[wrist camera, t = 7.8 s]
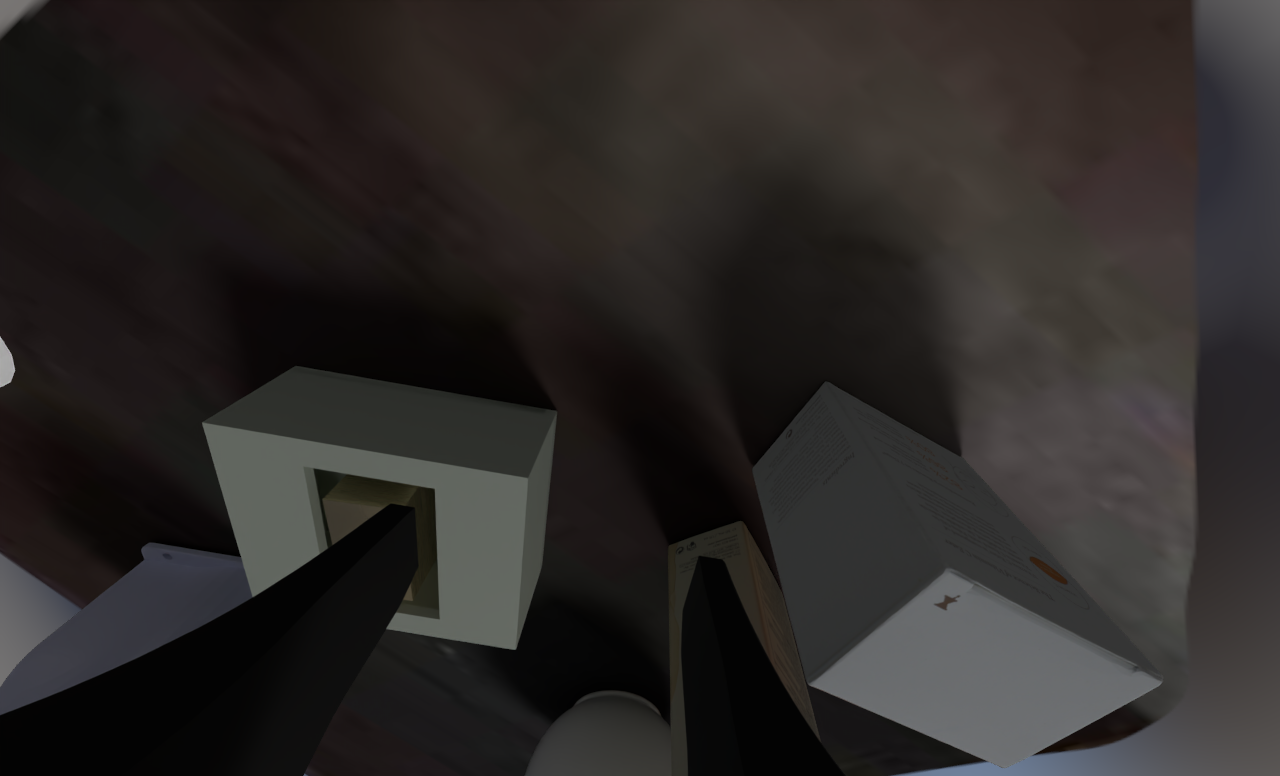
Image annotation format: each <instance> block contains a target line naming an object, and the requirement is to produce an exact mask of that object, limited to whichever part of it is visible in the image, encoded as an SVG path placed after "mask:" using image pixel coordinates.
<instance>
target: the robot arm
mask: <svg viewBox="0 0 1280 776" xmlns="http://www.w3.org/2000/svg"><path fill="white" fill-rule="evenodd" d="M141 551H142V554H143V557H144V559H145V560H144V561H142V562H141V563H140V564H139V565H137V566H136V567H135V568H134V569H132V570H131V571H130V572H129V573H127V574H126V575H125V576H124V577H122V578H121V579H120V580H119V581H117V582H116V583H115V584H114V585H112V586H111V587H110V588H109V589H107V590H106V591H105V592H104V593H102V594H101V595H100V596H99V597H97V598H96V599H95V600H94V601H92V602H91V603H90V604H89V605H87V606H86V607H85V608H84V609H82V610H81V611H80V612H78V613H77V614H76V615H75V616H74V617H72V618H71V619H70V620H69V621H67V622H66V623H65V624H63V625H62V626H61V627H60V628H59V629H57V630H56V631H55V632H54V633H52V634H51V635H50V636H48V637H47V638H46V639H45V640H43V641H42V642H41V643H40V644H38V645H37V646H36V647H35V648H34V649H33V650H32V651H31V652H30V653H28V654H27V655H26V656H25V657H24V659H22V661H20V662H19V664H18V665H17V666H16V667H15V669H13V671H12V672H11V673H10V674H9V676H8V677H7V678H6V680H5V681H4V683H3V684H2V686H1V687H0V776H303V775H304V773H305V771H306V769H307V767H308V765H309V763H310V761H311V759H312V757H313V755H314V753H315V751H316V749H317V747H318V745H319V743H320V741H321V739H322V737H323V735H324V733H325V731H326V729H327V727H328V725H329V723H330V721H331V719H332V717H333V715H334V714H335V712H336V710H337V708H338V707H339V705H340V703H341V701H342V700H343V698H344V696H345V694H346V693H347V691H348V690H349V688H350V686H351V685H352V683H353V682H354V680H355V678H356V677H357V675H358V673H359V672H360V670H361V669H362V667H363V665H364V664H365V662H366V661H367V659H368V657H369V656H370V654H371V653H372V651H373V649H374V648H375V646H376V644H377V643H378V641H379V640H380V638H381V636H382V635H383V633H384V631H385V630H386V628H387V627H388V625H389V623H390V622H391V620H392V618H393V617H394V615H395V613H396V612H397V610H398V608H399V607H400V605H401V603H402V601H403V599H404V597H405V595H406V592H407V590H408V588H409V586H410V584H411V582H412V580H413V577H414V575H415V573H416V571H417V568H418V566H419V565H418V549H417V533H416V517H415V507H409V506H403V505H397V504H389V505H388V506H386V507H385V508H383V509H382V510H380V511H379V512H378V513H376V514H375V515H373V516H372V517H371V518H369V519H368V520H367V521H365V522H364V523H362V524H361V525H360V526H358V527H357V528H356V529H354V530H353V531H351V532H350V533H349V534H347V535H346V536H344V537H343V538H342V539H340V540H339V541H337V542H336V543H335V544H333V545H332V546H330V547H329V548H327V549H326V550H324V551H323V552H322V553H320V554H319V555H317V556H316V557H314V558H313V559H311V560H310V561H309V562H307V563H306V564H304V565H303V566H301V567H300V568H298V569H297V570H295V571H293V572H292V573H290V574H289V575H287V576H286V577H284V578H283V579H281V580H279V581H278V582H276V583H275V584H273V585H272V586H270V587H268V588H267V589H265V590H264V591H262V592H260V593H259V594H257V595H256V596H254V597H253V596H252V593H251V590H250V586H249V583H248V579H247V576H246V572H245V569H244V565H243V562H242V558H241V557H237V556H231V555H225V554H219V553H213V552H207V551H201V550H195V549H189V548H183V547H177V546H170V545H164V544H158V543H148V544H146V545H145V546H144V547H142V549H141ZM681 664H682V680H683V695H684V710H685V725H686V740H687V761H688V776H845V774H844V773H843V772H842V770H841V769H840V768H839V766H838V765H837V764H836V762H835V761H834V760H833V758H832V757H831V756H830V754H829V753H828V752H827V750H826V749H825V748H824V746H823V745H822V743H821V742H820V740H819V739H818V737H817V736H816V734H815V733H814V731H813V730H812V729H811V727H810V726H809V724H808V723H807V721H806V720H805V718H804V716H803V715H802V713H801V712H800V710H799V709H798V707H797V706H796V704H795V702H794V701H793V699H792V698H791V696H790V694H789V693H788V691H787V689H786V688H785V686H784V684H783V682H782V681H781V679H780V677H779V675H778V674H777V672H776V670H775V668H774V666H773V665H772V663H771V661H770V659H769V657H768V656H767V654H766V652H765V650H764V648H763V646H762V644H761V642H760V640H759V638H758V636H757V634H756V632H755V630H754V628H753V626H752V624H751V622H750V620H749V618H748V615H747V613H746V611H745V609H744V607H743V604H742V602H741V600H740V598H739V595H738V593H737V591H736V588H735V586H734V584H733V581H732V579H731V576H730V574H729V571H728V568H727V566H726V563H725V562H724V561H723V559H717V558H711V557H705V556H699V557H698V560H697V563H696V567H695V570H694V573H693V577H692V580H691V583H690V587H689V590H688V593H687V597H686V600H685V603H684V607H683V610H682V632H681Z"/></svg>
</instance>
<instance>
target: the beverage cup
mask: <svg viewBox="0 0 1280 776" xmlns="http://www.w3.org/2000/svg"><path fill="white" fill-rule="evenodd" d="M14 372H15V368H14V363H13V359H12V354H11V353H10V351H9V350H8V348H7V347H6V345H5V343H4V342H3V340H2V339H1V337H0V387H2V386H4V385H6V384H8V383H10V382H11V380H12V377H13V375H14Z"/></svg>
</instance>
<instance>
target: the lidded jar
mask: <svg viewBox="0 0 1280 776" xmlns="http://www.w3.org/2000/svg"><path fill="white" fill-rule="evenodd" d="M525 776H671V727H670V726H669V724H668V723H667V722H666V721H665V720H664V719H663V718H662V717H661V714H660V712H659V710H658V709H657V708H656V706H655V705H654V704H652V703H651V702H650V701H648V700H647V699H645V698H643V697H641V696H639V695H636V694H633V693H630V692H626V691H619V690H602V691H596V692H593V693H590V694H587V695H585V696H583V697H582V698H580V699H579V700H578V701H577V702H576V703H575V704H574V706H573V707H572V708H571V709H569V710H567V711H566V712H565V713H563V714H562V715H561V716H560V717H559V718H558V719H557V720H555V721H554V723H553V724H552V725H551V726H550V727H549V728H548V730H547V731H546V732H545V734H544V735H543V737H542V739H541V740H540V742H539V743H538V745H537V747H536V749H535V751H534V753H533V755H532V758H531V760H530V762H529V765H528V768H527V770H526V773H525Z"/></svg>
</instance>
